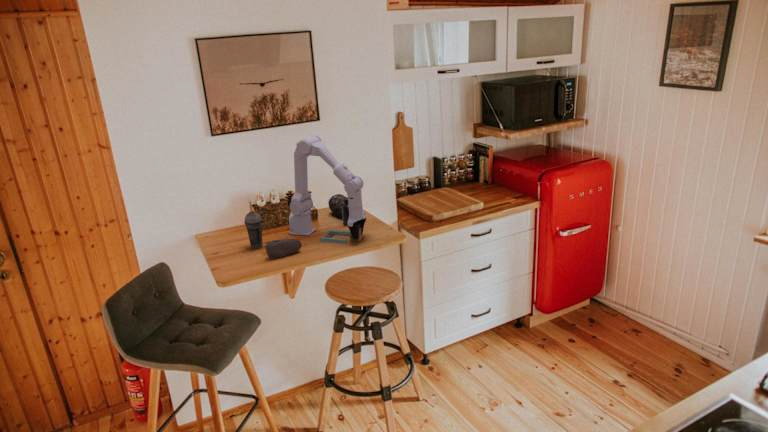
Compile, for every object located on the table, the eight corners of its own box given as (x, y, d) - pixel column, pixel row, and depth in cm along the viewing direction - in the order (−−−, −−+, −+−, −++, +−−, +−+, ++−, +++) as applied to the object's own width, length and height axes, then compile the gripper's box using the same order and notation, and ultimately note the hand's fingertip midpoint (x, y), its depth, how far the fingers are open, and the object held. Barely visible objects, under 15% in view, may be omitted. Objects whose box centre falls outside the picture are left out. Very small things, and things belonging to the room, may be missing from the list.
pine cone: (344, 222, 245) (342, 202, 242) (325, 214, 259) (323, 194, 256) (363, 217, 251) (361, 197, 247) (343, 209, 265) (341, 190, 261)
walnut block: (350, 241, 222) (349, 230, 220) (353, 237, 226) (352, 227, 224) (359, 241, 221) (358, 230, 220) (362, 238, 225) (361, 227, 223)
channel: (320, 241, 224) (319, 238, 224) (329, 233, 233) (329, 230, 232) (346, 243, 220) (345, 240, 220) (354, 235, 229) (354, 232, 228)
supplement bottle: (351, 226, 239) (349, 201, 235) (340, 224, 243) (337, 199, 239) (360, 222, 244) (359, 197, 240) (349, 219, 248) (347, 195, 244)
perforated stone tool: (300, 249, 217) (298, 233, 215) (304, 253, 213) (302, 237, 211) (264, 257, 212) (262, 240, 209) (267, 261, 207) (265, 245, 205)
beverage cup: (250, 251, 217) (243, 205, 211) (246, 246, 224) (239, 201, 217) (267, 247, 221) (261, 202, 214) (263, 242, 227) (256, 198, 220)
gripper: (357, 212, 211) (360, 243, 215) (370, 201, 224) (372, 231, 228) (341, 211, 213) (344, 242, 217) (355, 200, 226) (357, 230, 230)
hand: (357, 236), depth 223 cm, fingers closed on walnut block, 4 cm apart
